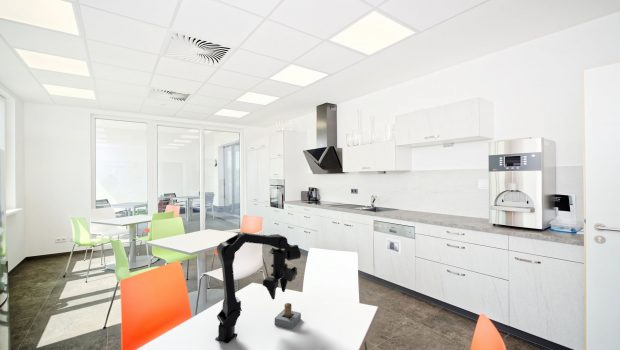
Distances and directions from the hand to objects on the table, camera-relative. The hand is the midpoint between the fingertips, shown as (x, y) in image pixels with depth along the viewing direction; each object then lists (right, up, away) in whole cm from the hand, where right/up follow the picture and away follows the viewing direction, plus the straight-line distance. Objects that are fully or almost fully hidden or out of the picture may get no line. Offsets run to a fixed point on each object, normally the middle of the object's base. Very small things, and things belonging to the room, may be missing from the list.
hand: (278, 295), depth 128 cm
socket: (+5, -12, -1) cm, 13 cm away
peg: (+5, -12, -1) cm, 13 cm away
